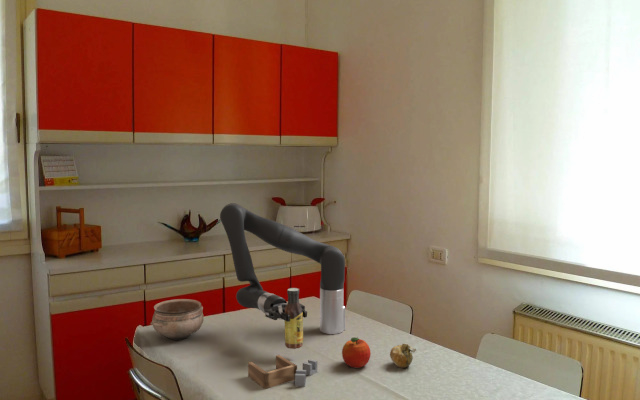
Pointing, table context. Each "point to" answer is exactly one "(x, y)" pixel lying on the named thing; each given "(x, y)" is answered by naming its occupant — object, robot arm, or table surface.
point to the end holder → (273, 373)
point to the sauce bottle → (294, 320)
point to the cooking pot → (177, 318)
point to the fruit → (356, 353)
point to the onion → (402, 355)
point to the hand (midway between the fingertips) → (297, 316)
